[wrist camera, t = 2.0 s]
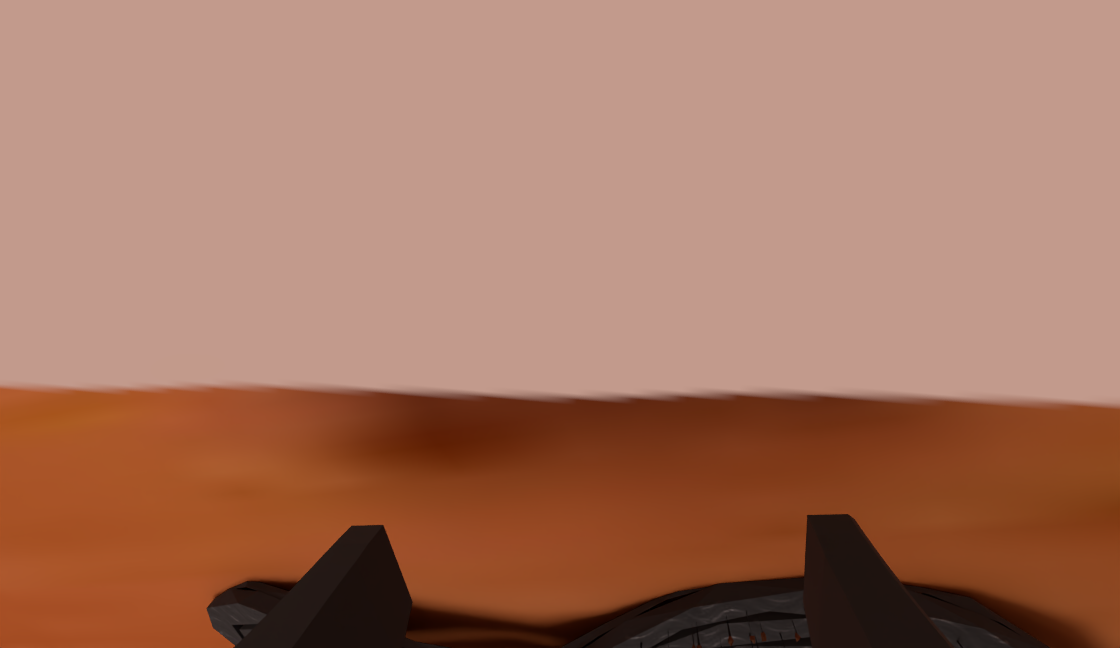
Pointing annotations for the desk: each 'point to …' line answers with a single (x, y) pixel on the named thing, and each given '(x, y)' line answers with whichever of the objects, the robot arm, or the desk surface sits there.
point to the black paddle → (696, 618)
